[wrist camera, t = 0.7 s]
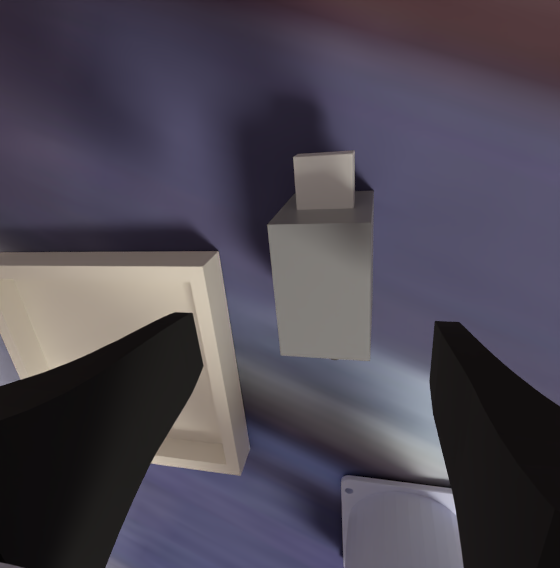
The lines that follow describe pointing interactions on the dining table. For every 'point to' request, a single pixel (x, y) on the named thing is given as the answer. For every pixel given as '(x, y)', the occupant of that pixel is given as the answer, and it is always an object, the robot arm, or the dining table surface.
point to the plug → (324, 261)
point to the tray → (124, 320)
